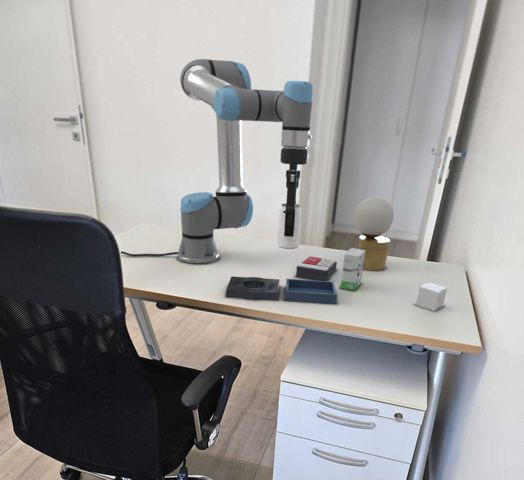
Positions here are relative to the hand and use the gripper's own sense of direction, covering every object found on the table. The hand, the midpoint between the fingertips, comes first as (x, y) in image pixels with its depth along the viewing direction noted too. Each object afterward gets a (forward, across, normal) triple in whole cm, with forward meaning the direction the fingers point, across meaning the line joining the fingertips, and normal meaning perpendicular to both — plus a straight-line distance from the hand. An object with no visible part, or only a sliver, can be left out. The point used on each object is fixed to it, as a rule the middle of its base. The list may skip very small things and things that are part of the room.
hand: (289, 233), depth 130 cm
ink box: (+20, +12, -22) cm, 32 cm away
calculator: (+19, +23, -10) cm, 32 cm away
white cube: (+20, -1, -45) cm, 49 cm away
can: (+4, 0, 0) cm, 4 cm away
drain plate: (+19, 0, +10) cm, 22 cm away
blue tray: (+19, +1, -8) cm, 21 cm away
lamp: (+19, +37, -30) cm, 52 cm away
